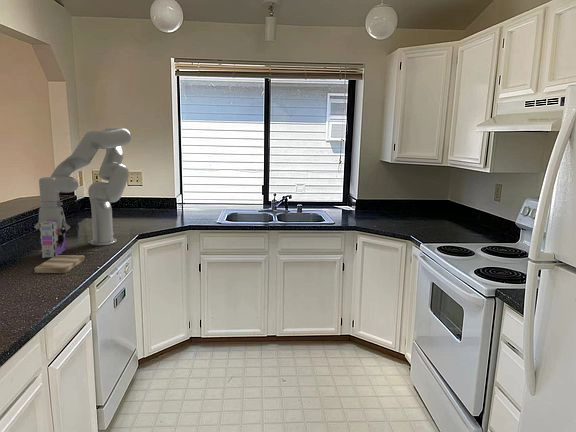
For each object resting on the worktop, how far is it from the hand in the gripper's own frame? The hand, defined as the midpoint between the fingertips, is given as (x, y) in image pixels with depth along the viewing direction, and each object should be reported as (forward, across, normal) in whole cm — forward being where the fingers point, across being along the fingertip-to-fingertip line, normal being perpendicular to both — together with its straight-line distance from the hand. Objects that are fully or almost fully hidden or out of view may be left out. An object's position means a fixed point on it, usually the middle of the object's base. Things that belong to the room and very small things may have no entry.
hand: (53, 242), depth 189 cm
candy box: (+6, 0, 0) cm, 6 cm away
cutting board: (+6, -11, +17) cm, 21 cm away
